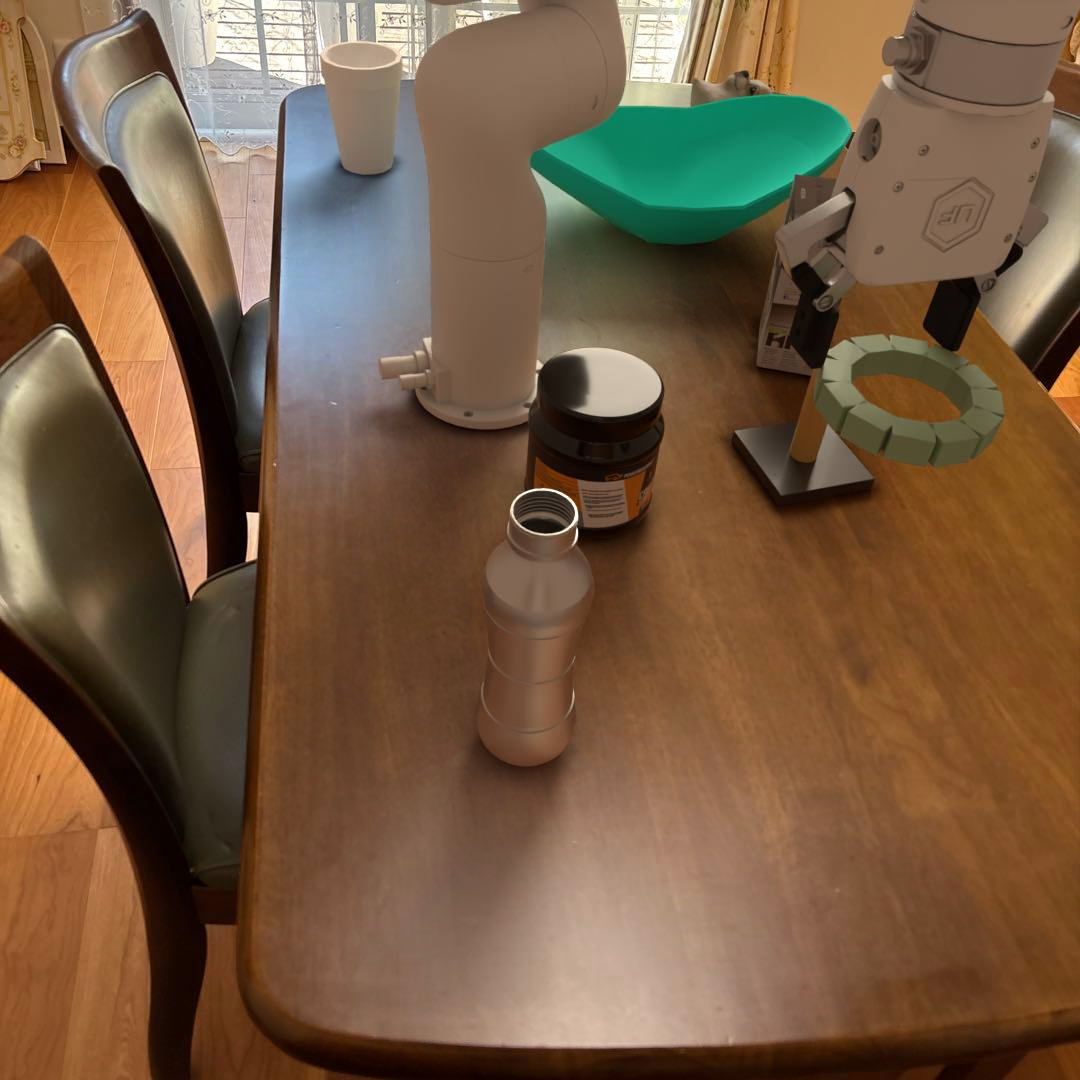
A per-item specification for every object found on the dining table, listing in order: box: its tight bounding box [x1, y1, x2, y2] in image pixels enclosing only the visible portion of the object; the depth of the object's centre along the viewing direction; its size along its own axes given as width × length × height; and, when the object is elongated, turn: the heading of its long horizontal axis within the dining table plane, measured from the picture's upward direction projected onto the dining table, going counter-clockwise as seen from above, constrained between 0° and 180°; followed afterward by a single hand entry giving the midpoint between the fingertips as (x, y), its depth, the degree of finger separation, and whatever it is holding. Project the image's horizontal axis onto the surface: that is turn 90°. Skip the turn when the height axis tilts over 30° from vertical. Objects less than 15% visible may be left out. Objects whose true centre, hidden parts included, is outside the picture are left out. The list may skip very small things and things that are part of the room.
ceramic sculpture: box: [689, 69, 773, 107], centre depth 140 cm, size 11×9×15 cm
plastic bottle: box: [475, 489, 595, 768], centre depth 60 cm, size 6×7×20 cm
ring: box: [813, 333, 1006, 469], centre depth 61 cm, size 11×11×2 cm
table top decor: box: [530, 93, 853, 246], centre depth 116 cm, size 40×28×13 cm
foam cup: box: [319, 40, 404, 176], centre depth 124 cm, size 10×9×13 cm
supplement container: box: [523, 346, 666, 540], centre depth 80 cm, size 10×10×12 cm
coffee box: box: [756, 174, 843, 377], centre depth 98 cm, size 9×6×16 cm
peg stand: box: [731, 348, 875, 507], centre depth 86 cm, size 9×9×11 cm
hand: (873, 347), depth 63 cm, fingers closed on ring, 9 cm apart
